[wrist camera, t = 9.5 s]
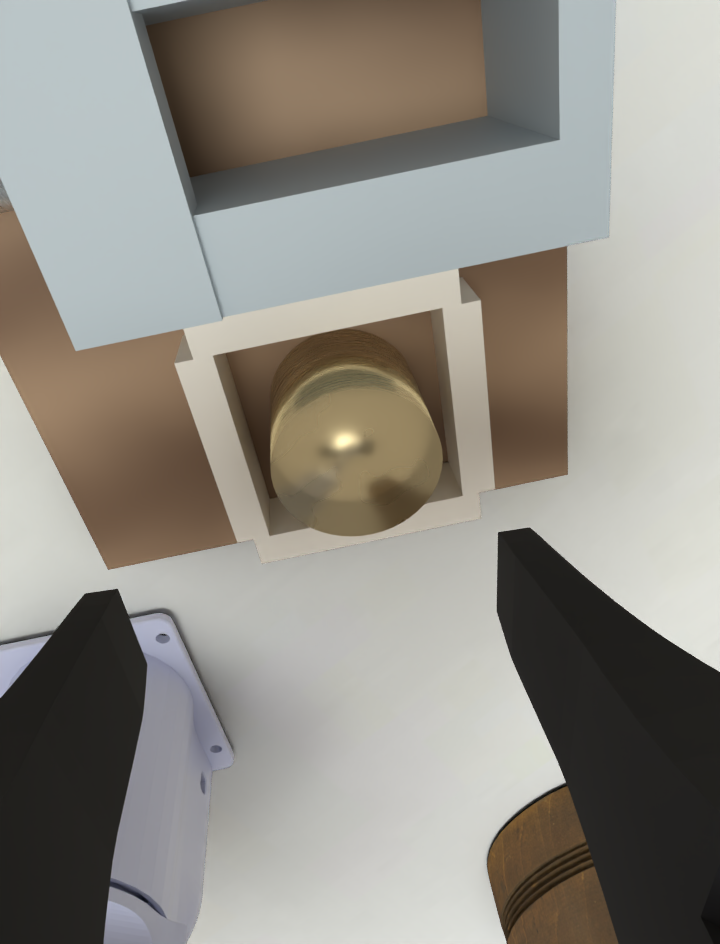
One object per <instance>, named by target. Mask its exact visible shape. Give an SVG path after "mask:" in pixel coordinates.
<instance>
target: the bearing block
mask: <svg viewBox="0 0 720 944" xmlns="http://www.w3.org/2000/svg"><path fill="white" fill-rule="evenodd" d="M262 1H267V0H0V178H1V180H2V183H3V185H4V187H5V190H6V192H7V194H8V197H9V199H10V201H11V203H12V206H13V208H14V210H15V213H16V215H17V217H18V220H19V222H20V224H21V226H22V229H23V231H24V233H25V236H26V238H27V240H28V243H29V245H30V247H31V249H32V252H33V254H34V256H35V259H36V261H37V263H38V265H39V268H40V270H41V272H42V275H43V277H44V279H45V282H46V284H47V286H48V288H49V291H50V293H51V295H52V298H53V300H54V302H55V305H56V307H57V309H58V311H59V314H60V316H61V318H62V321H63V323H64V325H65V328H66V330H67V332H68V334H69V337H70V339H71V341H72V344H73V346H74V348H75V350H76V351H79V350H84V349H88V348H93V347H98V346H103V345H108V344H113V343H117V342H122V341H127V340H132V339H137V338H141V337H146V336H151V335H156V334H161V333H166V332H170V331H175V330H180V329H185V328H190V327H195V326H199V325H204V324H209V323H214V322H219V321H222V320H223V317H227V316H232V315H237V314H241V313H246V312H251V311H256V310H261V309H266V308H270V307H275V306H280V305H285V304H290V303H294V302H299V301H304V300H309V299H314V298H319V297H323V296H328V295H333V294H338V293H343V292H347V291H352V290H357V289H362V288H367V287H372V286H376V285H381V284H386V283H391V282H396V281H401V280H405V279H410V278H415V277H420V276H425V275H429V274H434V273H439V272H444V271H449V270H454V269H458V268H463V267H468V266H473V265H478V264H483V263H487V262H492V261H497V260H502V259H507V258H511V257H516V256H521V255H526V254H531V253H536V252H540V251H545V250H550V249H555V248H560V247H564V246H569V245H574V244H579V243H584V242H589V241H593V240H598V239H603V238H608V237H609V217H610V184H611V151H612V118H613V85H614V52H615V19H616V0H481V14H482V30H483V47H484V63H485V80H486V96H487V113H488V116H484V117H479V118H474V119H470V120H465V121H460V122H455V123H450V124H446V125H441V126H436V127H431V128H426V129H421V130H417V131H412V132H407V133H402V134H397V135H392V136H388V137H383V138H378V139H373V140H368V141H364V142H359V143H354V144H349V145H344V146H339V147H335V148H330V149H325V150H320V151H315V152H311V153H306V154H301V155H296V156H291V157H286V158H282V159H277V160H272V161H267V162H262V163H257V164H253V165H248V166H243V167H238V168H233V169H229V170H224V171H219V172H214V173H209V174H204V175H200V176H195V177H189V174H188V170H187V167H186V163H185V160H184V156H183V153H182V150H181V146H180V143H179V139H178V136H177V132H176V129H175V125H174V122H173V119H172V115H171V112H170V108H169V105H168V101H167V98H166V95H165V91H164V88H163V84H162V81H161V77H160V74H159V70H158V67H157V64H156V60H155V57H154V53H153V50H152V46H151V43H150V40H149V36H148V33H147V29H146V25H151V24H156V23H161V22H166V21H171V20H175V19H180V18H185V17H190V16H195V15H199V14H204V13H209V12H214V11H219V10H224V9H228V8H233V7H238V6H243V5H248V4H253V3H257V2H262Z"/></svg>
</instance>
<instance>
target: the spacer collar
mask: <svg viewBox="0 0 720 944" xmlns="http://www.w3.org/2000/svg"><path fill="white" fill-rule="evenodd" d="M425 311H430V312H431V320H432V329H433V337H434V346H435V354H436V362H437V371H438V379H439V388H440V396H441V404H442V413H443V421H444V429H445V438H446V446H447V455H448V462H445V463H442V470H441V474H440V478H439V481H438V483H437V486H436V488H435V490H434V491H433V493H432V495H431V496H430V498H429V499H428V500H427V502H426V503H425V504H424V505H423V506H422V507H421V508H420V509H419V510H418V511H417V512H416V513H415V514H414V515H412V516H411V517H410V518H408V519H407V520H405V521H404V522H402V523H401V524H399V525H397V526H395V527H393V528H390V529H388V530H385V531H382V532H379V533H375V534H371V535H365V536H352V537H351V536H337V535H331V534H327V533H323V532H320V531H318V530H315V529H313V528H310V527H309V526H307V525H305V524H303V523H302V522H300V521H299V520H297V519H296V518H295V517H294V516H293V515H291V514H290V513H289V512H288V511H287V509H286V508H285V507H284V506H283V504H282V503H281V501H280V500H279V498H278V497H276V498H272V499H270V498H269V495H268V491H267V488H266V485H265V482H264V478H263V475H262V472H261V468H260V465H259V462H258V459H257V455H256V452H255V449H254V445H253V442H252V439H251V436H250V432H249V429H248V426H247V422H246V419H245V416H244V413H243V409H242V406H241V403H240V399H239V396H238V393H237V390H236V386H235V383H234V380H233V376H232V373H231V370H230V367H229V363H228V360H227V357H226V353H227V352H232V351H237V350H242V349H247V348H251V347H256V346H261V345H266V344H271V343H276V342H280V341H285V340H290V339H295V338H300V337H305V336H309V335H314V334H319V333H324V332H329V331H333V330H338V329H343V328H348V327H353V326H358V325H362V324H367V323H372V322H377V321H382V320H387V319H391V318H396V317H401V316H406V315H411V314H415V313H420V312H425ZM183 330H184V333H185V335H183V336H182V339H181V343H180V346H179V349H178V353H177V356H176V359H175V363H174V364H175V367H176V370H177V373H178V376H179V378H180V381H181V384H182V387H183V390H184V393H185V395H186V398H187V401H188V404H189V407H190V410H191V413H192V415H193V418H194V421H195V424H196V427H197V430H198V432H199V435H200V438H201V441H202V444H203V447H204V449H205V452H206V455H207V458H208V461H209V464H210V466H211V469H212V472H213V475H214V478H215V481H216V483H217V486H218V489H219V492H220V495H221V498H222V500H223V503H224V506H225V509H226V512H227V515H228V517H229V520H230V523H231V526H232V529H233V532H234V534H235V537H236V540H237V543H239V542H244V541H249V540H254V542H255V545H256V548H257V551H258V554H259V557H260V560H261V563H262V564H264V563H269V562H274V561H279V560H284V559H289V558H293V557H298V556H303V555H308V554H313V553H317V552H322V551H327V550H332V549H337V548H342V547H346V546H351V545H356V544H361V543H366V542H371V541H375V540H380V539H385V538H390V537H395V536H400V535H404V534H409V533H414V532H419V531H424V530H428V529H433V528H438V527H443V526H448V525H453V524H457V523H462V522H467V521H472V520H477V519H481V509H480V499H479V493H480V492H485V491H490V490H495V482H494V469H493V456H492V442H491V429H490V416H489V403H488V390H487V377H486V363H485V350H484V337H483V324H482V311H481V300H480V299H479V297H478V296H477V295H476V294H475V292H474V291H473V290H472V289H471V287H470V286H469V285H468V284H467V283H466V281H465V280H464V279H463V278H462V277H461V278H459V271H458V269H454V270H449V271H444V272H439V273H434V274H429V275H425V276H420V277H415V278H410V279H405V280H401V281H396V282H391V283H386V284H381V285H376V286H372V287H367V288H362V289H357V290H352V291H347V292H343V293H338V294H333V295H328V296H323V297H319V298H314V299H309V300H304V301H299V302H294V303H290V304H285V305H280V306H275V307H270V308H266V309H261V310H256V311H251V312H246V313H241V314H237V315H232V316H227V317H223V320H222V321H219V322H214V323H209V324H204V325H199V326H195V327H190V328H185V329H183Z"/></svg>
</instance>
